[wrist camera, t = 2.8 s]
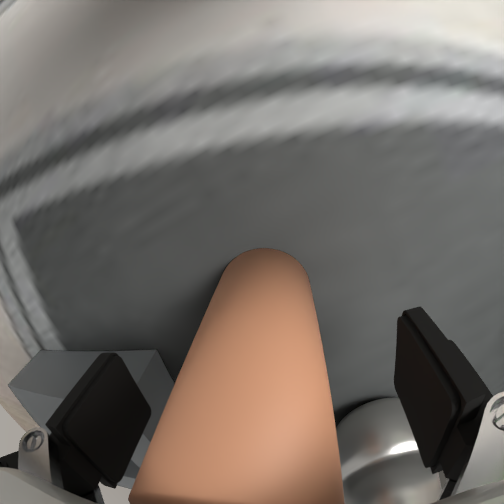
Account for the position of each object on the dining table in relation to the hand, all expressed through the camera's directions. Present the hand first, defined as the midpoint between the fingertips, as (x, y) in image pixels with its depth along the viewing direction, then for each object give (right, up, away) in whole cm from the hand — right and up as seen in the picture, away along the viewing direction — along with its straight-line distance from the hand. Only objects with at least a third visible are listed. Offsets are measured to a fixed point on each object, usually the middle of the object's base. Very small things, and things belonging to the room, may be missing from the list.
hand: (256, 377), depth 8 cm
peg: (0, +2, +4) cm, 5 cm away
